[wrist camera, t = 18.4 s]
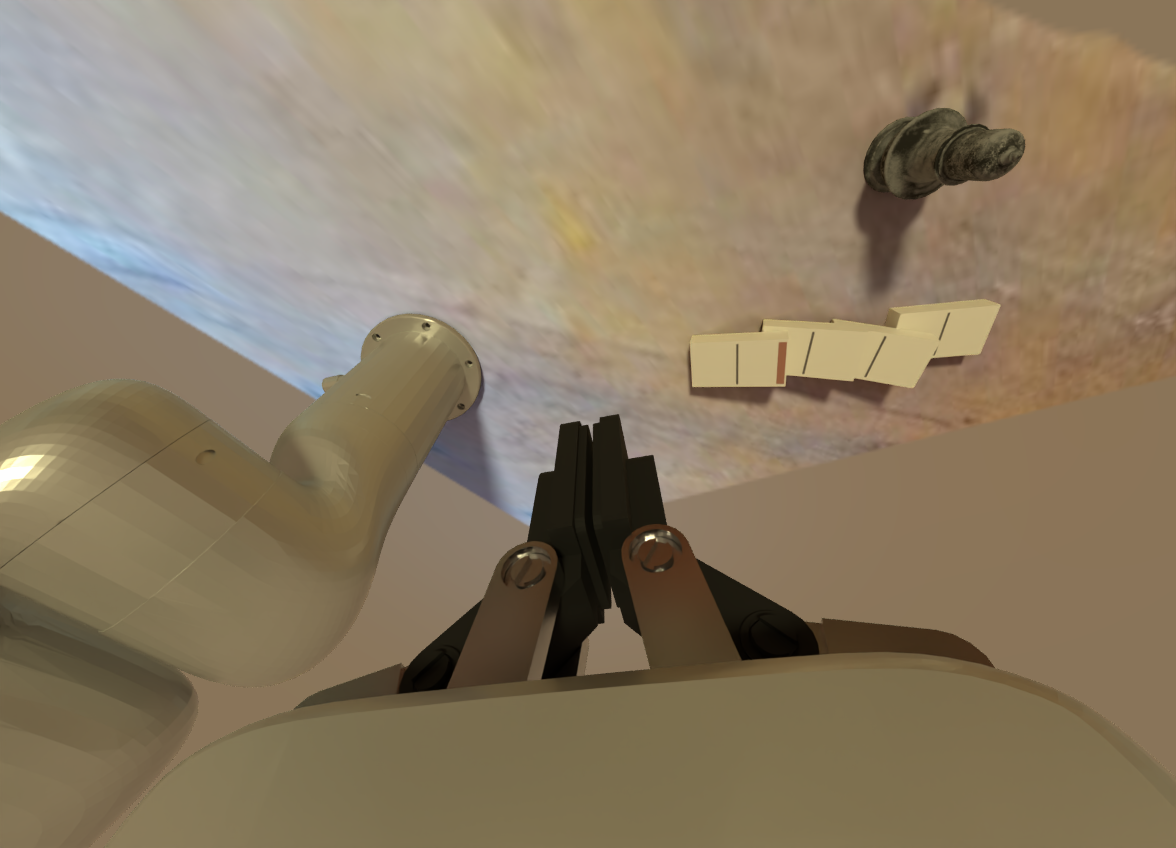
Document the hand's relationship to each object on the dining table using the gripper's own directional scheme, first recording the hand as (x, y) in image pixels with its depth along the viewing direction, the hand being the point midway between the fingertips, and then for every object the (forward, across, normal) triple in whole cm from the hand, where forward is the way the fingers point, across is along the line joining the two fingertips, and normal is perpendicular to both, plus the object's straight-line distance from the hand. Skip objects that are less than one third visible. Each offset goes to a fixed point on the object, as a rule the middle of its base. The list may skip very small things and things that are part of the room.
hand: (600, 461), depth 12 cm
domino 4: (+31, -27, +14) cm, 44 cm away
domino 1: (+31, -8, +13) cm, 34 cm away
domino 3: (+31, -21, +14) cm, 40 cm away
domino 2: (+31, -14, +12) cm, 37 cm away
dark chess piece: (+32, -26, -2) cm, 42 cm away
